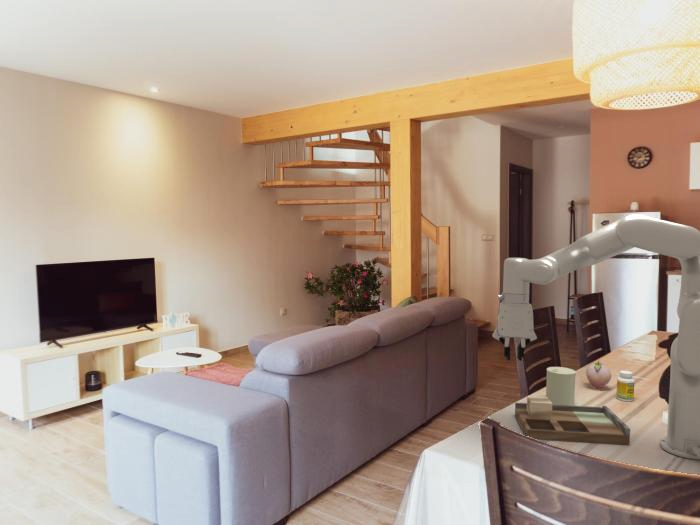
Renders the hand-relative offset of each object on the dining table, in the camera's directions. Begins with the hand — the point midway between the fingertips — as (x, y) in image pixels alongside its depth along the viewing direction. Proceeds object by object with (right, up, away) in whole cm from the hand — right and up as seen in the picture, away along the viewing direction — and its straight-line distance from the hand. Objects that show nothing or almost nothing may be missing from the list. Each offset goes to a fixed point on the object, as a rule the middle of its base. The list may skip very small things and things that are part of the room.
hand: (513, 358), depth 162 cm
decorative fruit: (+42, -18, +36) cm, 58 cm away
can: (+21, -19, +18) cm, 33 cm away
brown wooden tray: (+15, -20, -4) cm, 25 cm away
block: (+8, -17, 0) cm, 19 cm away
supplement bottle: (+46, -18, +24) cm, 55 cm away
